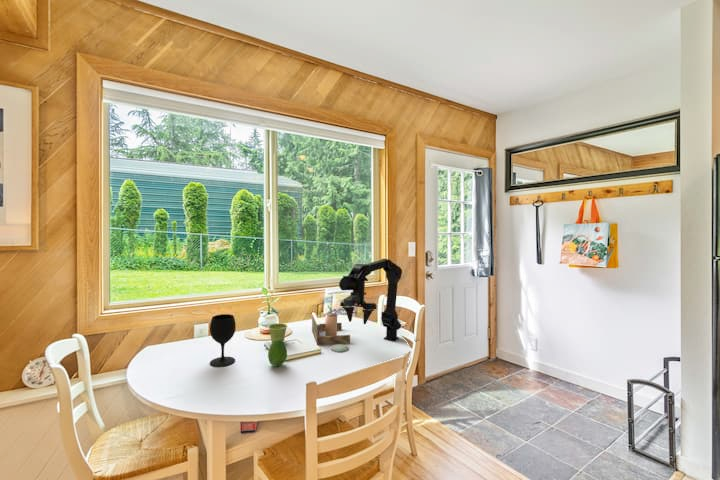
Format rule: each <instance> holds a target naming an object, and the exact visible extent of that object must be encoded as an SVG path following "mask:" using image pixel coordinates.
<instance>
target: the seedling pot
mask: <svg viewBox="0 0 720 480" xmlns="http://www.w3.org/2000/svg"><path fill="white" fill-rule="evenodd" d="M324 319H325V321H324V322H325V331H324V336H338V330H337V323H338V314H337V313H335V312H327V313H326V314H325V318H324Z"/></svg>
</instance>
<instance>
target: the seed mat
mask: <svg viewBox="0 0 720 480" xmlns="http://www.w3.org/2000/svg"><path fill="white" fill-rule="evenodd" d="M349 348H350V347H349V346H348V345H346V344H332V345H331V346H330V351H332V352H334V353H344V352H347V351H349Z"/></svg>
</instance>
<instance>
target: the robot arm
mask: <svg viewBox="0 0 720 480" xmlns="http://www.w3.org/2000/svg"><path fill="white" fill-rule="evenodd" d="M380 269H382V270H383V271H384V272H385V278H386V280H387V294H386V304H385V310H384V311H382V312H381V318H380V319H381V323H382V326H383V327H385V328H386V331H385V333H386V336H385V337H383V340H387V341H392V342H396V341H397V340H399V339H400V337H399V336H398V331H399V330H400V329H401V327H402V324H401V322H400V321H399V318H398V317H399V316H398V313H397V310H396V305H397V304H396V303H397V294H398V292H397V291H398V285H399V282H400V281H401V279H402V275H403V269H402V268H401V267H400V266H398V265H397V264H396V263H394V262H393V261H392V260H391V259H389V258H381V259H379V260H376V261H372V262H369V263H355V264H353V267H352V268H351V270H350V272H349V273H348V274H347V275H342V278H341V279H340V280H339V283H338V285H339V286H338V287H339V288H340V290H341V291H351V292H350V295H348V296H346V297H345V298H343V300H341V301H340V304H339V306H340V307H341V308H342V309H344V311H345V313H346V316H347V320H348V323H349V322H350V323H351V322H352V320H353V315H354V308H355V307H356V308H358V307H359V308H362V310H361V311H362V313H363V320H362V321H363V325H366V324H367V323H368V320H369V318H370V316H371V314H372V313H373V312H374V311H375V310H377V306H378V305H377V303H375V302H366V300H365V295H367V292H365V287H366V282H368V281H369V279H368V278H367V276H369V275H371V273H372V272H375V271H377V270H380Z"/></svg>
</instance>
